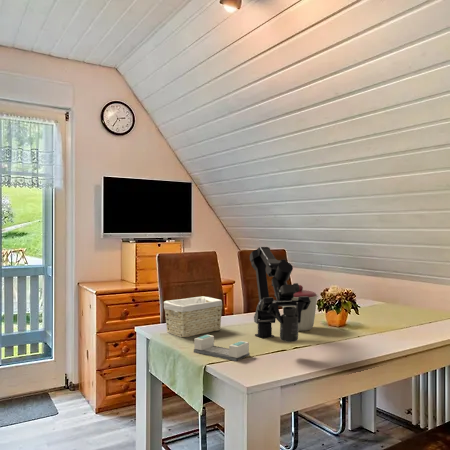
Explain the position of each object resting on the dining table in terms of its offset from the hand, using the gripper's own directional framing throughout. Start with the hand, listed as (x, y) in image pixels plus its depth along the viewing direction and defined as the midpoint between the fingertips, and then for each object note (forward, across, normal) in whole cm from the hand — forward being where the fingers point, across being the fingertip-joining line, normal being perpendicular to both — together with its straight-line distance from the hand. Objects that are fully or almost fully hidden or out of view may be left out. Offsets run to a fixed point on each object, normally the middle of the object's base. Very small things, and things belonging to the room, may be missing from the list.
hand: (290, 322), depth 160 cm
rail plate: (+2, -24, +17) cm, 30 cm away
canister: (-22, +21, +41) cm, 51 cm away
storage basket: (-24, -30, +44) cm, 59 cm away
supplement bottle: (+4, 0, +6) cm, 7 cm away
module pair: (+1, -24, +16) cm, 29 cm away
